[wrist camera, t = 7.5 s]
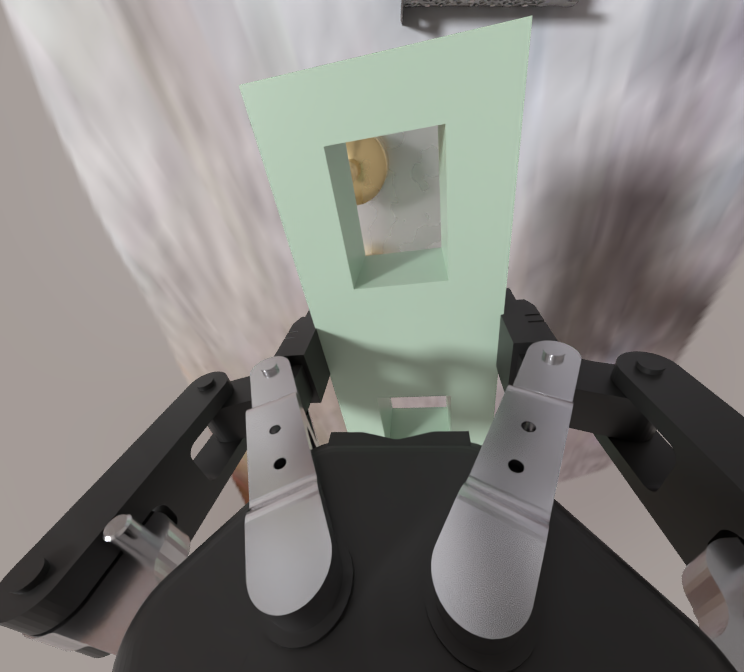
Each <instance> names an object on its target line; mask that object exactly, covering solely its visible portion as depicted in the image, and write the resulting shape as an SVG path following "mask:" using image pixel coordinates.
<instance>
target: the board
mask: <svg viewBox="0 0 744 672" xmlns="http://www.w3.org/2000/svg"><path fill="white" fill-rule="evenodd" d="M531 25H532V16H528V17H524V18H520V19H515V20H511V21H507V22H503V23H499V24H494V25H490V26H486V27H482V28H477V29H473V30H469V31H465V32H461V33H456V34H452V35H448V36H444V37H440V38H435V39H431V40H427V41H423V42H419V43H414V44H410V45H406V46H402V47H397V48H393V49H389V50H385V51H381V52H376V53H372V54H368V55H364V56H360V57H355V58H351V59H347V60H343V61H339V62H334V63H330V64H326V65H322V66H317V67H313V68H309V69H305V70H301V71H296V72H292V73H288V74H284V75H280V76H275V77H271V78H267V79H263V80H259V81H254V82H250V83H246V84H242V85H239V88H240V91H241V94H242V97H243V100H244V103H245V107H246V110H247V113H248V116H249V119H250V123H251V126H252V129H253V132H254V135H255V138H256V142H257V145H258V148H259V151H260V154H261V158H262V161H263V164H264V167H265V170H266V173H267V177H268V180H269V183H270V186H271V189H272V193H273V196H274V199H275V202H276V205H277V208H278V212H279V215H280V218H281V221H282V224H283V228H284V231H285V234H286V237H287V240H288V243H289V247H290V250H291V253H292V256H293V259H294V263H295V266H296V269H297V272H298V275H299V278H300V282H301V285H302V288H303V291H304V294H305V298H306V301H307V304H308V307H309V310H310V313H311V317H312V320H313V323H314V326H315V328H316V329H317V333H318V336H319V339H320V342H321V345H322V349H323V352H324V355H325V358H326V361H327V365H328V368H329V371H330V377H331V380H332V383H333V387H334V390H335V393H336V396H337V399H338V403H339V406H340V409H341V412H342V415H343V418H344V422H345V425H346V428H347V431H348V432H365V433H369V434H374V435H378V436H383V437H387V438H391V439H402V438H406V437H411V436H415V435H419V434H424V433H428V432H432V431H469V435H470V441H471V442H472V443H476V444H479V445H483V442H484V440H485V438H486V435H487V433H488V431H489V428H490V426H491V424H492V422H493V419H494V409H495V399H496V388H497V378H498V371H497V368H496V361H497V350H498V339H499V328H500V317H501V315H502V314H504V305H505V295H506V285H507V274H508V264H509V253H510V243H511V233H512V222H513V212H514V201H515V191H516V181H517V170H518V160H519V150H520V139H521V129H522V118H523V108H524V98H525V87H526V77H527V67H528V56H529V46H530V35H531ZM436 125H438V152H439V184H440V216H441V247H440V248H431V249H422V250H414V251H405V252H396V253H388V254H379V255H370V256H366V255H365V250H364V244H363V238H362V233H361V227H360V221H359V216H358V210H357V204H356V198H355V193H354V187H353V181H352V176H351V170H350V164H349V159H348V153H347V147H346V142H350V141H356V140H361V139H367V138H372V137H377V136H383V135H388V134H393V133H399V132H404V131H409V130H415V129H420V128H425V127H431V126H436ZM422 396H446V407H429V408H392V403H391V398H390V397H422Z"/></svg>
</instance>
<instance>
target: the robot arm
mask: <svg viewBox="0 0 744 672" xmlns="http://www.w3.org/2000/svg"><path fill="white" fill-rule="evenodd" d="M496 368H497V371H498V374H499V377H500V380H501V383H502V386H503V389H504V392H505V394H504V396H503V398H502V401H501V403H500V405H499V408H498V410H497V412H496V415H495V417H494V419H493V422H492V424H491V426H490V428H489V431H488V433H487V435H486V438H485V440H484V442H483V445H479V444H476V443H472V442H471V441H470V435H469V431H432V432H428V433H424V434H419V435H415V436H411V437H406V438H402V439H391V438H387V437H383V436H378V435H374V434H369V433H365V432H331V435H330V439H329V443H327V444H324V445H321V446H319V442H318V439H317V435H316V432H315V428H314V425H313V422H312V418H311V415H310V412H309V410H308V408H309V405H310V403H321V401H322V398H323V395H324V392H325V389H326V386H327V383H328V380H329V377H330V371H329V368H328V365H327V361H326V358H325V355H324V352H323V349H322V345H321V342H320V339H319V336H318V333H317V329H316V328H315V326H314V323H313V320H312V317H311V313H310V310H309V311H308V313H307V315H306V317H301V318H300V319H299V320H298V321H296V322H295V323H294V324H293V325H292V327H291V329H290V330H289V333H288V334H287V335H286V337H285V339H284V341H283V342H282V344H281V346H280V347H279V349H278V351H277V352H276V354H275V356H274V357H270V358H267V359H265V360H263V361H261V362H259V363H258V364H257V365H255V366H254V368H253V369H252V370H251V373H250V376H248V377H245V378H241V379H237V380H234V381H230V380H229V378H228V376H227V375H226V374H225V373H224V372H212V373H208V374H206V375H203V376H201V377H199V378H198V379H196V380H195V381H194V382H192V383H191V384H190V385H189V386H188V387H187V388H186V390H185V391H184V392H183V393H182V394H181V395H180V396H179V397H178V398H177V399H176V400H175V401H174V402H173V403H172V404H171V405H170V406H169V407H168V408H167V409H166V410H165V411H164V412H163V414H161V415H160V416H159V417H158V419H157V420H156V421H155V422H154V423H153V424H152V425H151V426H150V427H149V428H148V429H147V430H146V431H145V432H144V433H143V434H142V435H141V436H140V437H139V438H138V439H137V440H136V441H135V442H134V443H133V444H132V445H131V446H130V447H129V448H128V450H127V451H126V452H125V453H124V454H123V455H122V456H121V457H120V458H119V459H118V460H117V461H116V462H115V463H114V464H113V465H112V466H111V467H110V468H109V469H108V470H107V471H106V472H105V473H104V474H103V475H102V477H101V478H99V480H98V481H97V482H96V483H95V484H94V485H93V486H92V487H91V488H90V489H89V490H88V491H87V492H86V493H85V494H84V495H83V496H82V497H81V498H80V499H79V500H78V501H77V502H76V503H75V504H74V505H73V506H72V508H70V510H69V511H68V512H67V513H66V514H65V515H64V516H63V517H62V518H61V519H60V520H59V521H58V522H57V523H56V524H55V525H54V526H53V527H52V528H51V529H50V530H49V531H48V532H47V533H46V534H45V535H44V536H43V537H42V538H41V540H40V541H39V542H38V543H37V544H36V545H35V546H34V547H33V548H32V549H31V550H30V551H29V552H28V553H27V554H26V555H25V556H24V557H23V558H22V559H21V560H20V561H19V562H18V563H17V564H16V565H15V566H14V568H12V570H11V571H10V572H9V573H8V574H7V575H6V576H5V577H4V578H3V580H2V581H1V582H0V625H1V626H4V627H7V628H10V629H13V630H16V631H19V632H22V634H23V635H24V636H25V637H27V638H29V639H32V640H35V641H38V642H41V643H44V644H47V645H50V646H53V647H56V648H59V649H62V650H65V651H76V652H79V653H82V654H85V655H88V656H91V657H94V658H101V657H105V656H107V655H110V654H113V655H116V659H115V662H114V666H113V671H112V672H744V417H743V416H742V415H741V414H739V413H738V412H737V411H736V410H734V409H733V408H732V407H731V406H729V405H728V404H727V403H726V402H724V401H723V400H722V399H720V398H719V397H718V396H716V395H715V394H714V393H713V392H712V391H710V390H709V389H708V388H706V387H705V386H704V385H703V384H701V383H700V382H699V381H698V380H696V379H695V378H694V377H693V376H691V375H690V374H689V373H687V372H686V371H685V370H684V369H682V368H681V367H680V366H679V365H677V364H676V363H674V362H673V361H671V360H669V359H667V358H665V357H662V356H659V355H656V354H652V353H647V352H627V353H624V354H622V355H620V356H619V357H618V358H617V360H616V363H615V364H608V363H601V362H594V361H588V360H584V359H581V355H580V354H579V352H578V351H577V350H576V349H575V348H573V347H571V346H570V345H567V344H565V343H562V342H558V341H557V339H556V338H555V336H554V335H553V333H552V332H551V330H550V329H549V327H548V325H547V324H546V322H544V319H543V318H542V316H541V315H540V313H539V312H538V310H537V308H536V307H535V306H534V305H533V304H531V303H529V302H528V301H526V300H525V299H523V300H516V299H515V297H514V296H513V294H512V292H511V290H510V289H509V288H506V295H505V305H504V314H502V315H501V317H500V328H499V339H498V350H497V361H496ZM207 426H208V427H209V429H210V430H211V432H212V433H213V435H212V436H211V437H210V439H209V440H208V441H207V443H206V444H205V446H204V447H203V448H202V449H201V451H200V452H199V453H198V455H197V456H196V457H195V459H194V460H192V458H191V448H192V445H193V443H194V442H195V441H196V439H197V438H198V437H199V436H200V434H201V433H202V432H203V431H204V429H205V428H206V427H207ZM568 428H573V429H577V430H582V431H586V432H590V433H593V434H594V436H595V437H596V439H597V440H598V441H599V443H600V444H601V446H602V447H603V448H604V450H605V451H606V453H607V454H608V455H609V457H610V458H611V460H612V461H613V463H614V464H615V465H616V467H617V468H618V470H619V471H620V472H621V474H622V475H623V477H624V478H625V479H626V481H627V482H628V484H629V485H630V487H631V488H632V489H633V491H634V492H635V494H636V495H637V496H638V498H639V499H640V501H641V502H642V503H643V505H644V506H645V507H646V509H647V510H648V512H649V513H650V515H651V516H652V518H653V519H654V520H655V522H656V523H657V525H658V526H659V527H660V529H661V530H662V532H663V533H664V534H665V536H666V537H667V539H668V540H669V542H670V543H671V544H672V546H673V547H674V549H675V550H676V551H677V553H678V554H679V555H680V557H681V558H682V560H683V561H684V563H685V564H686V567H685V569H684V571H683V574H682V584H683V588H684V591H685V594H686V596H687V598H688V600H689V602H690V604H691V606H692V608H693V612H694V614H695V616H696V618H697V619H698V623H699V627H698V626H697V625H696V624H695V623H694V622H693V621H692V620H691V619H689V618H688V617H687V616H686V615H685V614H684V613H682V612H681V610H679V609H678V608H677V607H676V606H675V605H674V604H672V603H671V602H670V601H669V600H668V599H667V598H666V597H665V596H664V595H662V594H661V593H660V592H659V591H658V590H657V589H656V588H654V587H653V586H652V585H651V584H650V583H649V582H648V581H647V580H645V579H644V578H643V577H642V576H640V574H639V573H638V572H636V571H635V570H634V569H633V568H632V567H631V566H630V565H628V564H627V563H626V562H625V561H624V560H623V559H622V558H621V557H619V556H618V555H617V554H616V553H615V552H613V550H612V549H610V548H609V547H608V546H607V545H606V544H605V543H604V542H602V541H601V540H600V539H599V538H598V537H597V536H596V535H594V534H593V533H592V532H591V531H590V530H589V529H588V528H586V526H584V525H583V524H582V523H581V522H580V521H579V520H578V519H577V518H575V517H574V516H573V515H572V514H571V513H570V512H569V511H567V510H566V509H565V508H564V507H563V506H562V505H561V504H560V503H558V502H557V501H556V500H555V499H554V496H555V491H556V487H557V482H558V477H559V472H560V467H561V462H562V457H563V453H564V448H565V443H566V438H567V433H568ZM656 430H658V431H659V432H660V433H661V434H662V435H663V437H664V438H665V439H666V440H667V441H668V442H669V443H670V444H671V446H672V447H671V446H670V445H669V444H668V443H667V442H666V441H665V440H664V438H662V436H661V435H660V434H659V433H658V432H657V431H656ZM246 450H247V457H248V480H249V502H248V503H247V504H246V505H245V506H244V507H243V508H241V509H240V510H239V511H238V512H237V513H236V514H235V515H234V516H233V517H232V518H231V519H229V520H228V521H227V522H226V523H225V524H224V525H223V526H222V527H220V528H219V529H218V530H217V531H216V532H215V533H214V534H213V535H212V536H210V537H209V538H208V539H207V540H206V541H205V542H204V543H203V544H202V545H200V546H199V547H198V548H197V549H196V550H195V551H194V552H193V553H192V554H191V555H189V556H188V554H189V550H190V542H191V540H192V538H193V537H194V535H195V534H196V532H197V530H198V529H199V527H200V525H201V524H202V522H203V520H204V519H205V517H206V515H207V513H208V512H209V511H210V509H211V507H212V506H213V504H214V502H215V501H216V499H217V498H218V496H219V494H220V493H221V491H222V489H223V488H224V486H225V484H226V483H227V481H228V480H229V478H230V476H231V475H232V473H233V472H234V470H235V468H236V467H237V465H238V463H239V462H240V460H241V458H242V457H243V455H244V454H245V452H246Z"/></svg>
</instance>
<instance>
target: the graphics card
mask: <svg viewBox="0 0 744 672" xmlns="http://www.w3.org/2000/svg"><path fill="white" fill-rule="evenodd" d="M577 2H578V1H568V0H402V1H401V23H402V21H403V6H405V7H408V6H409V5H412V7H414V6H425V7H429V6H439V5H440V7H442V5H445V7H446V6H447V5H448V6H470V7H472V5H475V7H478V6H491V7H492V6H502V7H503V6H506V7H511V6H522V7H526V6H535V7H536V6H539V7H543V6H545V5H548V6H550V5H558V6H561V7H570V6H573V5H574V4H576V3H577Z"/></svg>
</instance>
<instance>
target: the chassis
mask: <svg viewBox="0 0 744 672" xmlns="http://www.w3.org/2000/svg"><path fill="white" fill-rule="evenodd" d="M346 147H347V153H348V159H349V164H350V170H351V176H352V181H353V187H354V193H355V198H356V204H357V210H358V216H359V221H360V227H361V233H362V238H363V244H364V250H365V255H366V256H370V255H379V254H388V253H396V252H405V251H414V250H422V249H431V248H440V247H441V216H440V184H439V152H438V125H436V126H431V127H425V128H420V129H415V130H409V131H404V132H399V133H393V134H388V135H383V136H377V137H372V138H367V139H361V140H356V141H350V142H346Z"/></svg>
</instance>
